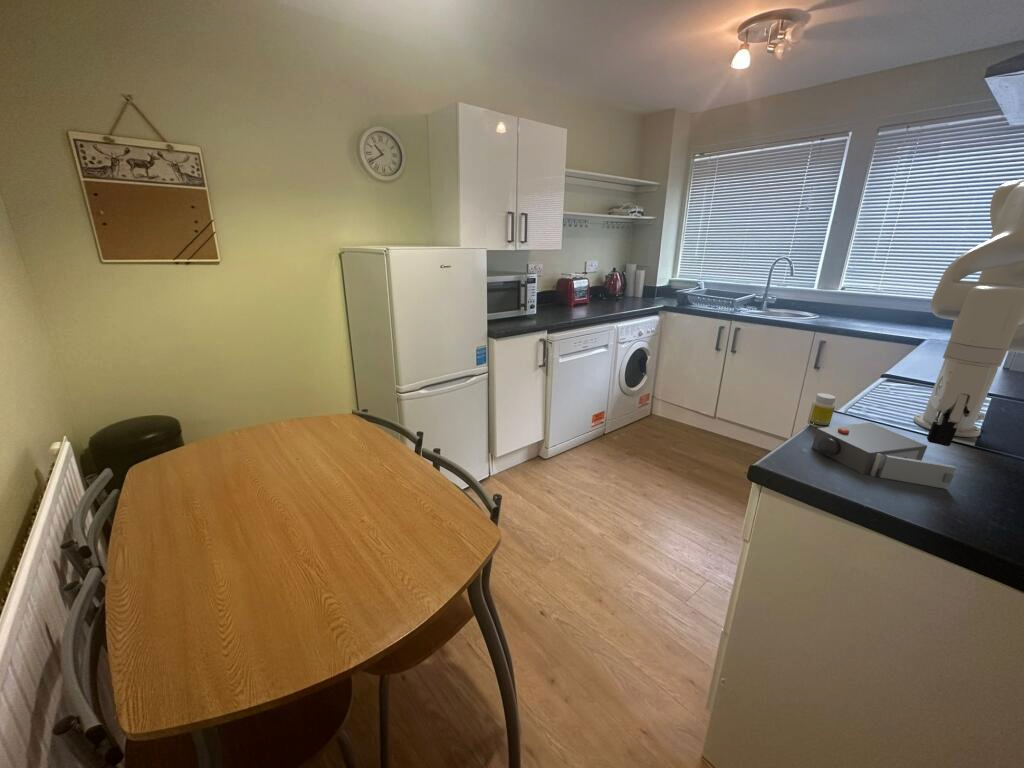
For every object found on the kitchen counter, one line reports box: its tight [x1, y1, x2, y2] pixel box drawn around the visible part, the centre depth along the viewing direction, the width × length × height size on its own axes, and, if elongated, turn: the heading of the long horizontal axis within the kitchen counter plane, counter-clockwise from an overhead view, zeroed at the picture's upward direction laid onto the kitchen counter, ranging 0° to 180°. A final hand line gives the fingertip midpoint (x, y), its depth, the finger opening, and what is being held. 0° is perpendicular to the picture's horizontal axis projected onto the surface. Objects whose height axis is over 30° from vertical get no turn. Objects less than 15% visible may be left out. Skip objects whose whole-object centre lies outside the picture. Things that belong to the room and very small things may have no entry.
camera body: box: [811, 422, 928, 477], centre depth 93 cm, size 18×13×6 cm
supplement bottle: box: [807, 392, 836, 429], centre depth 109 cm, size 5×5×8 cm
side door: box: [878, 455, 957, 490], centre depth 84 cm, size 11×2×5 cm, turn 68°
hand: (937, 442), depth 83 cm, fingers closed
